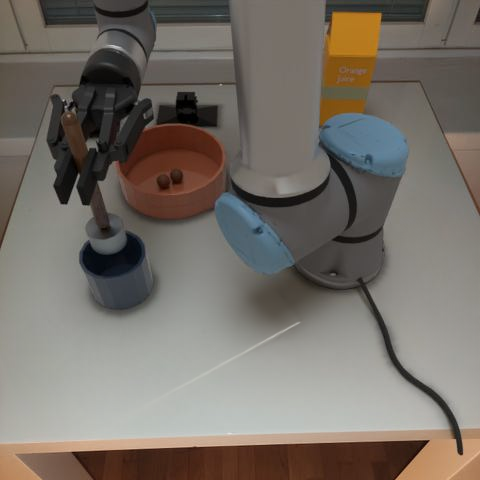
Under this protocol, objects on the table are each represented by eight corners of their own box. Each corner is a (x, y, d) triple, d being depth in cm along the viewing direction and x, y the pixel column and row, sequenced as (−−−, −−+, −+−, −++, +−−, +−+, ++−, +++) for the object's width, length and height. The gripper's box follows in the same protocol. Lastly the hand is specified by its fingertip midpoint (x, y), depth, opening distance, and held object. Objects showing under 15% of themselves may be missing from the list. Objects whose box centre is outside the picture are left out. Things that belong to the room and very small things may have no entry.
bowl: (245, 195, 86) (246, 169, 81) (150, 236, 81) (145, 210, 76) (194, 139, 95) (192, 111, 90) (105, 172, 89) (98, 145, 84)
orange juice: (360, 127, 98) (385, 23, 81) (317, 126, 98) (333, 22, 81) (355, 104, 102) (379, 1, 85) (314, 103, 102) (330, 0, 85)
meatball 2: (182, 178, 85) (185, 183, 87) (181, 165, 85) (183, 170, 87) (169, 180, 85) (172, 185, 87) (167, 167, 85) (171, 172, 88)
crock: (163, 295, 74) (156, 261, 67) (107, 321, 71) (94, 289, 65) (137, 255, 78) (128, 220, 72) (83, 279, 76) (69, 245, 69)
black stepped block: (156, 127, 97) (152, 106, 93) (159, 106, 101) (156, 85, 97) (216, 126, 97) (215, 105, 93) (217, 105, 101) (216, 84, 97)
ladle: (133, 245, 66) (99, 118, 49) (99, 260, 65) (52, 133, 48) (118, 223, 68) (81, 94, 52) (85, 236, 67) (36, 108, 50)
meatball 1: (163, 185, 84) (174, 184, 85) (158, 172, 84) (169, 171, 85) (156, 190, 86) (167, 189, 87) (152, 178, 85) (163, 176, 87)
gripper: (171, 103, 68) (144, 223, 55) (68, 99, 68) (17, 217, 55) (164, 50, 62) (132, 171, 49) (51, 45, 62) (-10, 164, 49)
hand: (71, 195), depth 52 cm, fingers closed on ladle, 2 cm apart
